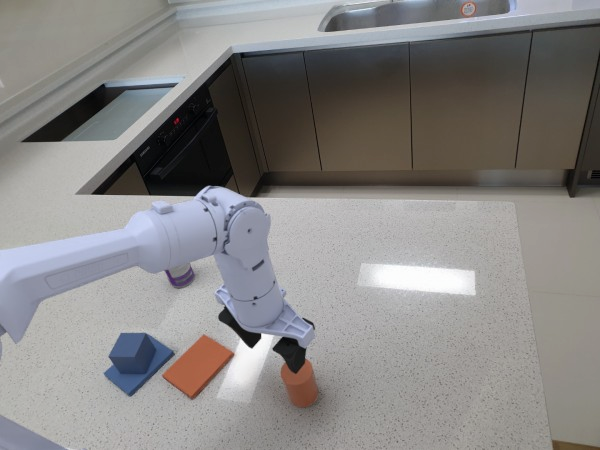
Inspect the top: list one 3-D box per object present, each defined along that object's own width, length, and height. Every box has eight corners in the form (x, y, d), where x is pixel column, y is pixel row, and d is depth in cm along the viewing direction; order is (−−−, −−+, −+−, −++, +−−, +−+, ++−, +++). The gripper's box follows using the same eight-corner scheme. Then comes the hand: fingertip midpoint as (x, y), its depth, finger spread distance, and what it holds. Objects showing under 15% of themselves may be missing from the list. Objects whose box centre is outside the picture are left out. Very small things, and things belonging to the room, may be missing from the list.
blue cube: (145, 374, 72) (134, 356, 69) (120, 373, 73) (107, 356, 70) (156, 350, 75) (146, 332, 72) (131, 350, 76) (120, 332, 73)
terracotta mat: (192, 399, 67) (190, 396, 67) (163, 378, 71) (161, 375, 71) (234, 355, 73) (233, 352, 72) (205, 337, 76) (203, 334, 76)
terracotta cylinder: (306, 413, 63) (299, 390, 59) (281, 397, 65) (273, 375, 62) (324, 388, 65) (318, 365, 62) (300, 374, 68) (293, 351, 64)
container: (170, 275, 90) (141, 215, 81) (193, 267, 91) (166, 207, 82) (172, 291, 87) (141, 230, 78) (196, 283, 87) (168, 221, 78)
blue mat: (130, 397, 70) (128, 394, 69) (105, 376, 74) (103, 373, 73) (174, 353, 75) (173, 350, 74) (149, 336, 79) (147, 333, 78)
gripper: (322, 281, 51) (338, 355, 59) (230, 243, 59) (255, 313, 67) (283, 325, 47) (305, 398, 55) (190, 278, 55) (222, 348, 63)
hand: (276, 354), depth 61 cm, fingers open, 7 cm apart
